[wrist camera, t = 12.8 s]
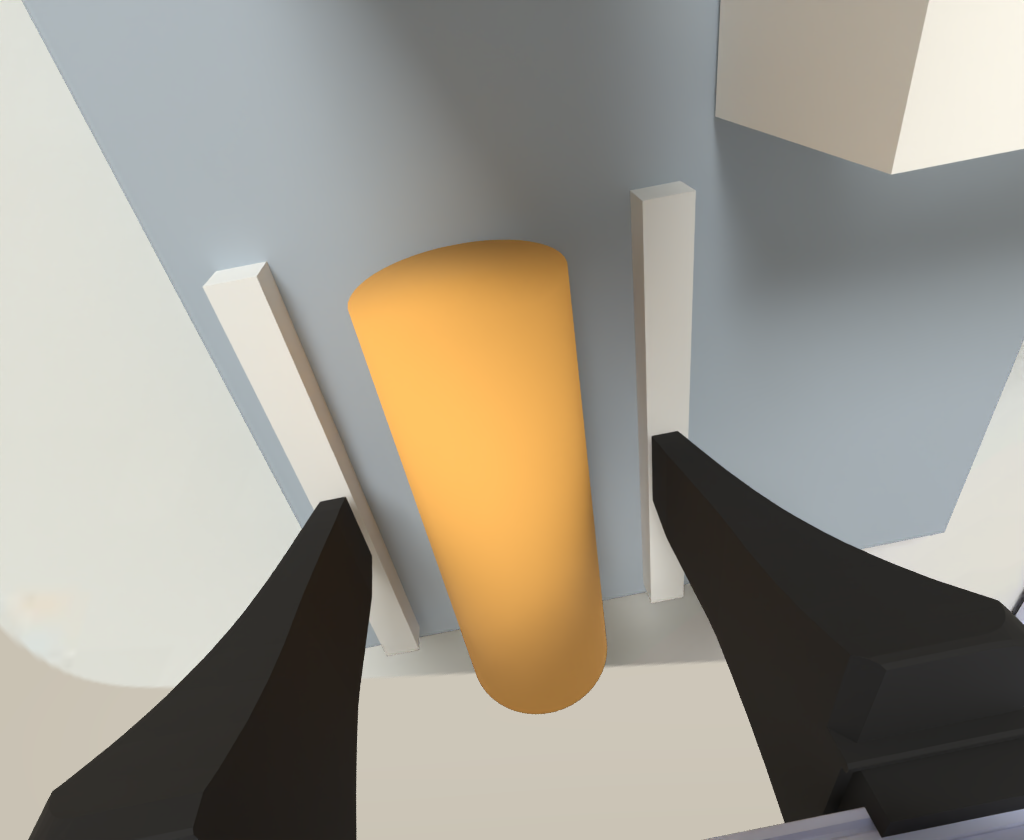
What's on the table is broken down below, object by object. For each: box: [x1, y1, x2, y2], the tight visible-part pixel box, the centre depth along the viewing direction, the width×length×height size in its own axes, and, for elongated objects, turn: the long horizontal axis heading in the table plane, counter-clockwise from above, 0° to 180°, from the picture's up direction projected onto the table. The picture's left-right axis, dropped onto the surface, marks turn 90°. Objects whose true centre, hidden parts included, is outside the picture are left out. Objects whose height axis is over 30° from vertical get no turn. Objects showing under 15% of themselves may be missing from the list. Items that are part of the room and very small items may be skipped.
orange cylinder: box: [348, 240, 607, 714], centre depth 13 cm, size 11×4×4 cm, turn 9°
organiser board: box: [22, 0, 1024, 656], centre depth 14 cm, size 17×19×2 cm
